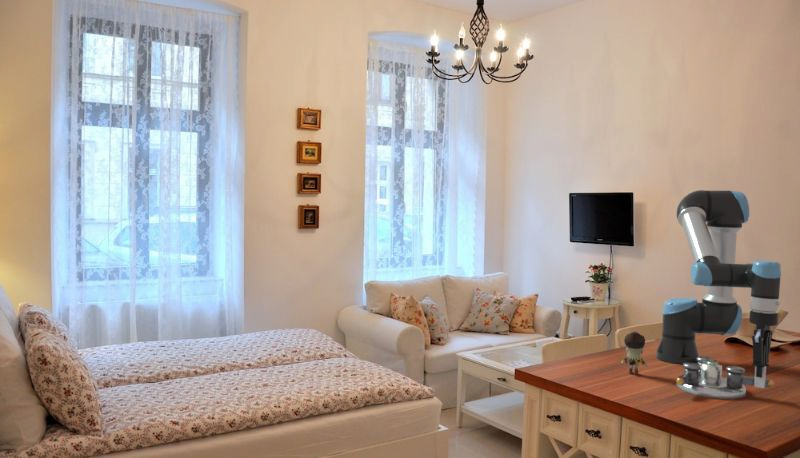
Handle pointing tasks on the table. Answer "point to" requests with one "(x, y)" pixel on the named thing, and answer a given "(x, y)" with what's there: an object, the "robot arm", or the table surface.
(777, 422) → the table surface
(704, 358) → the knob
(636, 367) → the toy
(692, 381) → the knob
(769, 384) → the knob
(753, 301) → the robot arm
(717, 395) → the tribrach plate
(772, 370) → the table surface
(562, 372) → the table surface
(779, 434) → the table surface
